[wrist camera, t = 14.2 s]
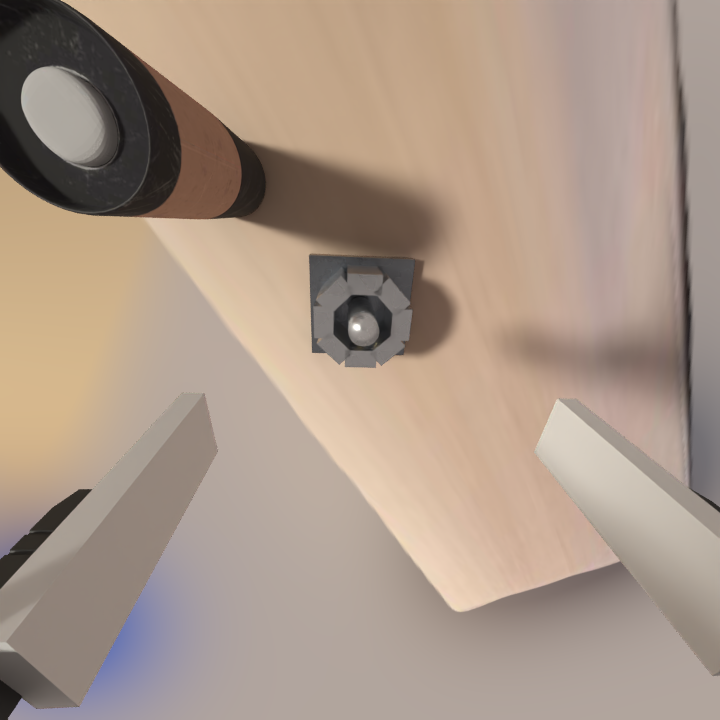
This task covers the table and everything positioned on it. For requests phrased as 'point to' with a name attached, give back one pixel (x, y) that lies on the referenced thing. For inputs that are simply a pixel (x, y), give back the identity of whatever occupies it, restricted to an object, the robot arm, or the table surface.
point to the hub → (390, 328)
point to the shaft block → (358, 309)
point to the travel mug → (110, 126)
